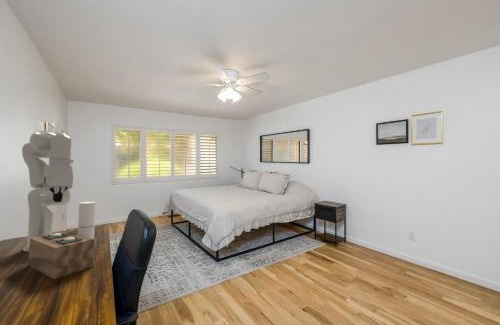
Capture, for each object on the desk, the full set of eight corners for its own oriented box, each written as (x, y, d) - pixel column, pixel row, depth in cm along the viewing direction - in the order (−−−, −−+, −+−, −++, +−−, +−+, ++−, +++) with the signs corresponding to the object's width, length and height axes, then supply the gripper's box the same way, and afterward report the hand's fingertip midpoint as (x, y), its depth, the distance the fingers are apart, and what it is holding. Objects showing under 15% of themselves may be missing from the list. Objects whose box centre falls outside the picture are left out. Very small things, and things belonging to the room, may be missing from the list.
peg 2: (59, 267, 96) (61, 239, 97) (70, 264, 100) (72, 236, 100) (64, 269, 94) (66, 240, 95) (75, 266, 98) (76, 238, 98)
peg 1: (46, 261, 102) (48, 234, 102) (57, 258, 105) (59, 232, 106) (51, 263, 100) (52, 236, 100) (61, 260, 104) (63, 233, 104)
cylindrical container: (84, 252, 116) (87, 203, 117) (73, 251, 117) (75, 203, 118) (96, 248, 123) (98, 201, 124) (85, 246, 124) (88, 201, 125)
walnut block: (54, 279, 88) (55, 246, 88) (28, 265, 99) (29, 237, 100) (93, 266, 100) (94, 237, 101) (66, 255, 112) (67, 230, 112)
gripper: (74, 162, 113) (72, 199, 113) (35, 161, 100) (32, 202, 99) (82, 162, 109) (80, 200, 109) (42, 161, 96) (40, 204, 96)
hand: (57, 201), depth 104 cm, fingers closed
